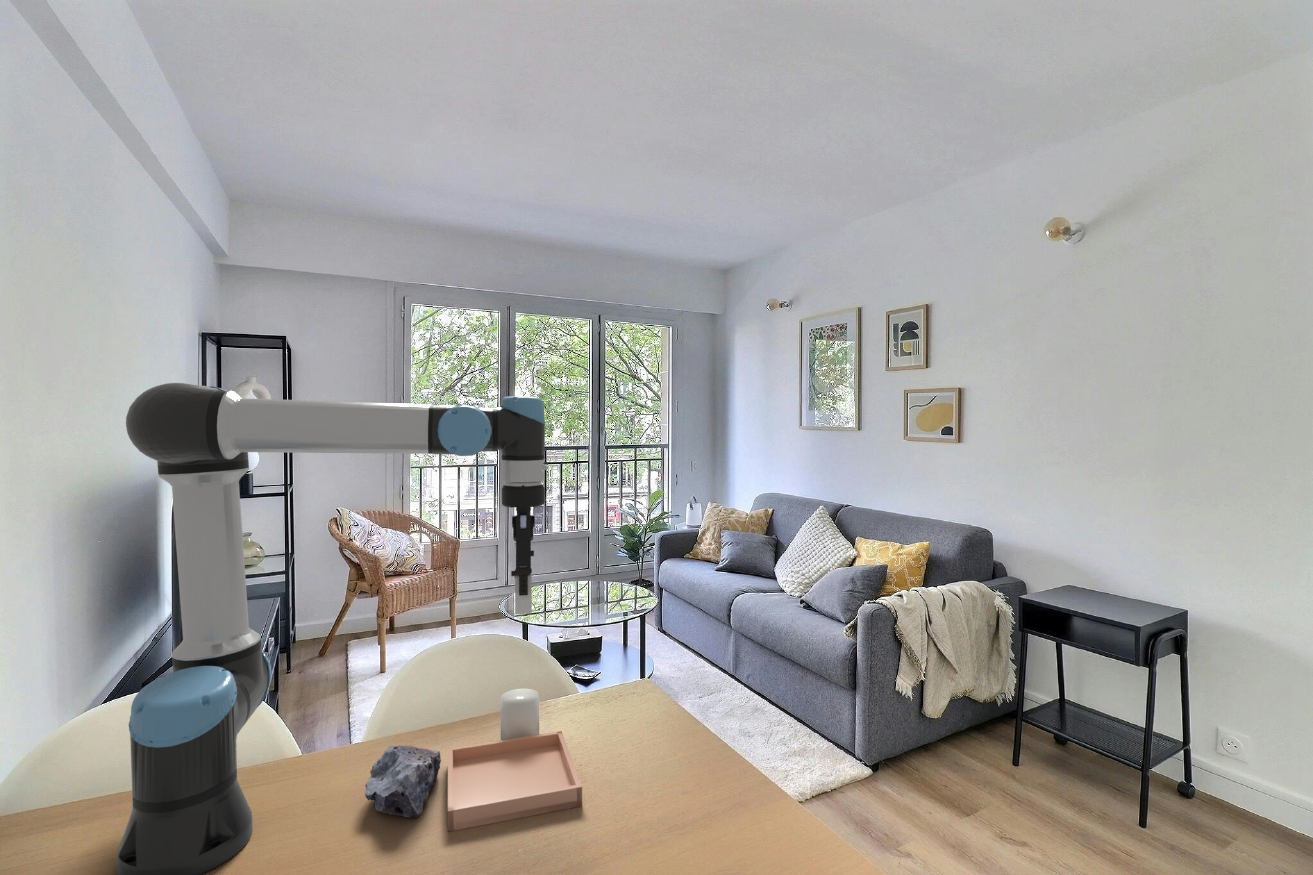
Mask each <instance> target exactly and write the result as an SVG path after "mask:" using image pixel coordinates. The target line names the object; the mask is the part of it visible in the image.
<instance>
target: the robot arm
mask: <svg viewBox="0 0 1313 875" xmlns="http://www.w3.org/2000/svg"><path fill="white" fill-rule="evenodd" d="M125 426H126V427H125V429H126V433H127V436H128V438H129V440H130V441H131V443H132V445H133V446H134V447H135V448H136V449H137V450H138V451H139V452H140V453H141V454H143V455H145V456H146V457H148V458H150V459H152V460H154V461H156V463H157V473H158V474H157V475H158V477H159V478H160V479H162V480H163V481H164V482H167V483H168V484H169V485H170V487H171V492H172V493H171V494H172V506H173V518H174V522H173V523H174V533H175V546H176V547H175V548H176V559H177V573H178V586H179V587H178V588H179V598H180V601H179V603H180V614H181V625H182V626H181V628H182V641H181V642H180V644H179V645H177V647H176V648H174V650H173V651H172V652H171V661H172V662H171V664H172V672H170V673H168V674H167V675H166V676H164V677H161V676H160V677H158V678H156V679H155V680H153V681H151V682H149V683H148V684H146V685H145V686H144V687H143V688H141V689H140V691H138V693H137V694H136V695H135V696H134V698H133V700H132V702H131V703H132V704H131V707H130V716H129V722H128V731H129V735H130V739H129V740H130V764H131V766H130V767H131V793H132V808H131V813H130V816H129V819H128V822H127V825H126V827H125V831H124V832H123V836H122V839H121V842H120V844H119V847H118V849H117V854H116V875H203V874H206V873H207V872H210V871H212V870H213V869H215V868H217V867H219V866H221V865H222V864H224V863H226V862H227V861H228V860H230V859H231V858H233V857H234V856H235V855H237V854H238V853H239V852H240V851H242V849H243V848H244V847H245V846H246V845H247V843H249V841H250V839H251V837H252V834H253V828H254V827H253V814H252V813H253V812H252V809H251V807H250V806H249V803H248V801H247V799H246V796H245V794H244V792H243V790H242V788H241V785H240V783H239V781H238V765H237V764H238V762H237V760H238V758H237V752H238V751H237V738H238V734H239V733H240V732H241V730H242V728H244V726H245V725H246V723H247V722H248V721H249V719H251V717H252V715H253V714H254V713H255V711H256V710H257V709H258V708H259V706H260V705H261V704H262V702H263V701H264V700H265V698H266V696H267V694H268V691H269V688H270V684H271V681H272V666H271V662H270V659H269V658H268V656H267V655H266V653H265V652H264V650H263V651H262V638H261V634H260V633H259V632H257V631H255V630H254V629H252V628H251V627H250V625H249V623H250V622H249V611H248V610H249V608H248V595H247V581H246V580H247V579H246V568H245V554H244V553H245V552H244V540H243V538H244V536H243V526H242V525H243V524H242V511H241V509H242V508H241V496H240V483H239V482H240V480H241V479H242V477H243V476H245V474H246V473H247V472H248V471H249V470H250V463H249V453H292V454H293V453H295V454H297V453H301V454H302V453H303V454H304V453H307V454H308V453H309V454H311V453H312V454H313V453H314V454H315V453H316V454H319V453H320V454H325V453H326V454H400V455H401V454H404V455H405V454H407V455H408V454H410V455H411V454H413V455H414V454H417V455H423V454H425V455H427V454H428V455H455V456H457V457H470V456H471V457H472V456H475V455H477V454H479V453H480V452H481V451H483V452H484V451H501V461H500V462H501V464H500V467H501V468H500V469H501V475H500V478H501V482H502V483H504V484H503V485H502V486H501V504H502V505H501V506H503V507H505V508H506V507H507V508H515V511H516V515H511V527H512V529H513V535H512V536H513V541H514V542H515V569H514V570H511V571H510V572H511V574H510V576H511V577H514V613H515V615H525V614H527V615H528V614H532V606H533V605H532V603H533V602H532V598H533V597H532V593H533V592H532V588H533V586H532V585H533V584H532V577H533V575H532V572H533V569H532V557H535V550H532V548H531V546H532V541H533V540H534V529H535V526H536V522H535V521H536V520H535V519H536V517H535V515H534V514H531V510H532V508H536V507H541V506H544V504H545V498H546V497H545V496H546V494H545V492H546V487H545V485H544V484H542V482H544V481H545V472H544V471H547V470H549V466H548V464H545V454H546V453H545V451H546V450H545V449H546V448H545V447H546V446H545V444H546V440H545V439H546V437H545V436H546V430H545V429H546V421H545V404H544V401H543V400H542V398H540V397H537V396H504V397H502V399H501V403H500V406H499V407H477V406H475V405H472V404H458V405H453V404H449V405H448V404H425V403H424V404H420V403H396V402H395V403H392V402H391V403H389V402H361V401H360V402H358V401H334V400H333V401H331V400H330V401H329V400H328V401H327V400H324V401H323V400H301V399H299V400H298V399H271V398H242V396H240V395H239V394H238V393H236V391H234V390H227V389H224V388H223V389H222V388H221V387H216V386H213V385H211V386H210V385H199V384H190V383H183V382H169V383H164V384H159V385H156V386H153V387H151V388H148V389H147V390H145V391H143V392H142V393H140V394H139V395H138V396H137V397H136V398H135V399H134V401H133V402H132V403H131V405H130V406H129V408H128V411H127V413H126V417H125Z"/></svg>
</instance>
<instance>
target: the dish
mask: <svg viewBox="0 0 1313 875" xmlns="http://www.w3.org/2000/svg"><path fill="white" fill-rule="evenodd" d="M579 807H583V785H582V782H581V780H580V776H579V774H578V771H577V769H576V767H575V764H574V761H573V759H572V756H571V752H570V750H569V747H568V745H567V742H566V740H565V737H564V733H563V732H562V730H560V731H554V732H553V731H552V732H548V733H541V734H540V733H539V735H533V736H526V737H520V738H513V739H507V740H501V739H500V740H496V741H495V740H494V741H488V742H483V743H476V744H467V745H463V746H461V745H460V746H456V747H450V748H447V832H455V831H459V830H463V829H469V828H474V827H479V826H484V825H490V824H497V823H500V822H505V821H512V820H516V819H517V820H518V819H521V818H526V817H532V816H536V815H537V816H538V815H543V814H549V813H553V812H559V811H562V810H569V809H573V808H579Z"/></svg>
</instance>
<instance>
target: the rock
mask: <svg viewBox="0 0 1313 875" xmlns="http://www.w3.org/2000/svg"><path fill="white" fill-rule="evenodd" d="M441 758H442V757H441V753H440V751H439V750H431V749H428V748H421V747H416V746H412V745H400V744H399V745H389V746H388V747H387V748H386V750H385V751H384V752H383V754H382V755H381V757H380V758H378V759H377V761H376V762H375V763H374V764H372V768H371V770H370V772H369V773H370V777H368V779H367V781H366V783H365V791H364V796H365V798H366V800H367V801H374V808H375V810H376V811H378V812H380V813H384V814H389V815H394V816H401V817H404V818H408V819H411V818H417V817H419V816H420V815H422V812H423V810H424V804H426V803H427V802H426V801H427V799H428V797H429V793H430V791H431V789H432V788H433V787H434V785H435V784H436V780H437V778H438V774H439V771H440V769H441V762H442V759H441Z"/></svg>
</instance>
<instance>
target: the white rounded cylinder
mask: <svg viewBox="0 0 1313 875" xmlns="http://www.w3.org/2000/svg"><path fill="white" fill-rule="evenodd" d="M499 702H500V740H507V739H513V738H520V737H526V736H533V735H539V734H540V694H539V692H538V691H537V690H535V689H532V688H531V689H530V688H516V689H511V690H508V691H506V692H504V693H502V694H501V696H500V700H499Z"/></svg>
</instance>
